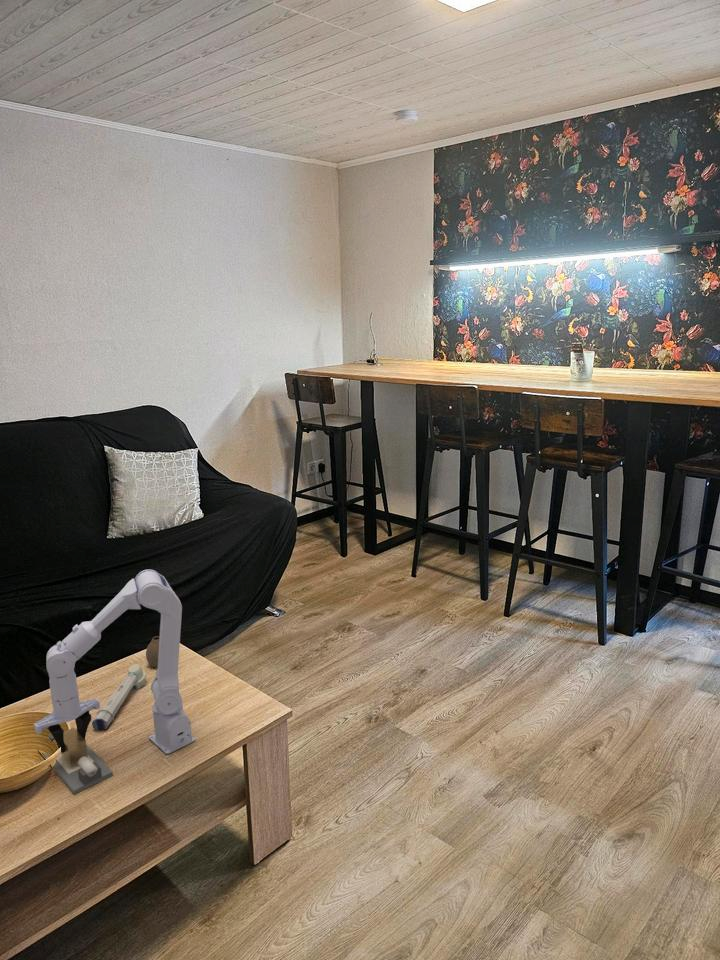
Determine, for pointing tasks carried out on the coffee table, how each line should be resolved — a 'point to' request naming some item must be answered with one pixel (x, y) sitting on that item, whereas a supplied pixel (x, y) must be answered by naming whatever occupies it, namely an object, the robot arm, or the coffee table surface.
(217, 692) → the coffee table surface
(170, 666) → the robot arm
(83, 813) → the coffee table surface
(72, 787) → the coupling bed
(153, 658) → the vase
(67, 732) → the block
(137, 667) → the grey long handheld tool
